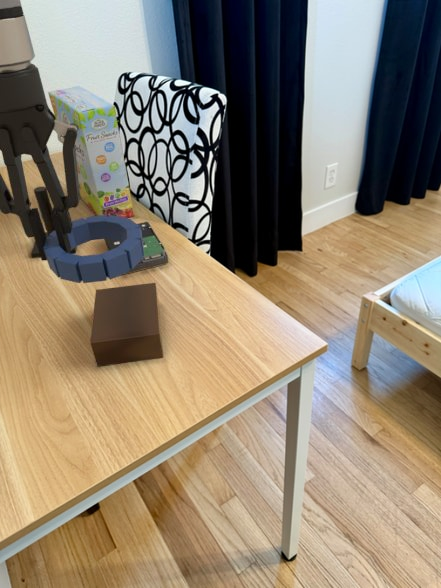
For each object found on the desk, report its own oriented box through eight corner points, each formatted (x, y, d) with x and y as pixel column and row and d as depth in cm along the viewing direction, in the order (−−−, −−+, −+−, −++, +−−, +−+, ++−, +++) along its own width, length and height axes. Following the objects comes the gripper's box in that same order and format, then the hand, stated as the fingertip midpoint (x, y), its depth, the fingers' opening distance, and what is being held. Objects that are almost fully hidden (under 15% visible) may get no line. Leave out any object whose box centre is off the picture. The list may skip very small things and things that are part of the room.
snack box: (72, 194, 114) (45, 90, 98) (103, 186, 118) (82, 84, 102) (102, 227, 100) (76, 110, 84) (136, 216, 103) (118, 102, 87)
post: (31, 258, 90) (11, 200, 82) (39, 236, 97) (21, 182, 89) (75, 253, 91) (60, 196, 83) (79, 232, 98) (65, 178, 90)
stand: (97, 366, 65) (90, 342, 62) (101, 312, 75) (95, 289, 72) (163, 357, 66) (159, 333, 63) (159, 305, 76) (155, 282, 73)
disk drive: (103, 242, 94) (119, 276, 83) (101, 231, 93) (116, 264, 82) (149, 231, 97) (170, 263, 86) (147, 220, 96) (168, 251, 85)
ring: (43, 288, 55) (36, 268, 53) (57, 237, 65) (51, 219, 63) (145, 276, 57) (142, 257, 55) (142, 228, 67) (140, 211, 65)
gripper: (-93, 77, 41) (-7, 275, 56) (69, 68, 43) (111, 262, 58) (-65, 63, 47) (6, 245, 62) (76, 55, 49) (113, 234, 64)
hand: (56, 253), depth 60 cm, fingers closed on ring, 2 cm apart
